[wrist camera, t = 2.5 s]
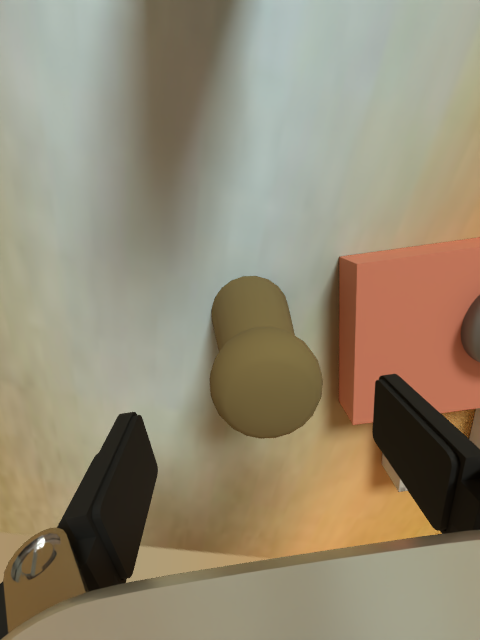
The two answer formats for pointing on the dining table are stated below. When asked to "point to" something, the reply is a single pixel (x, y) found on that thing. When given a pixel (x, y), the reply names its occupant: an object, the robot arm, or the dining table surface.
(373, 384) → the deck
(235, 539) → the dining table surface
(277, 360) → the cork
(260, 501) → the dining table surface
